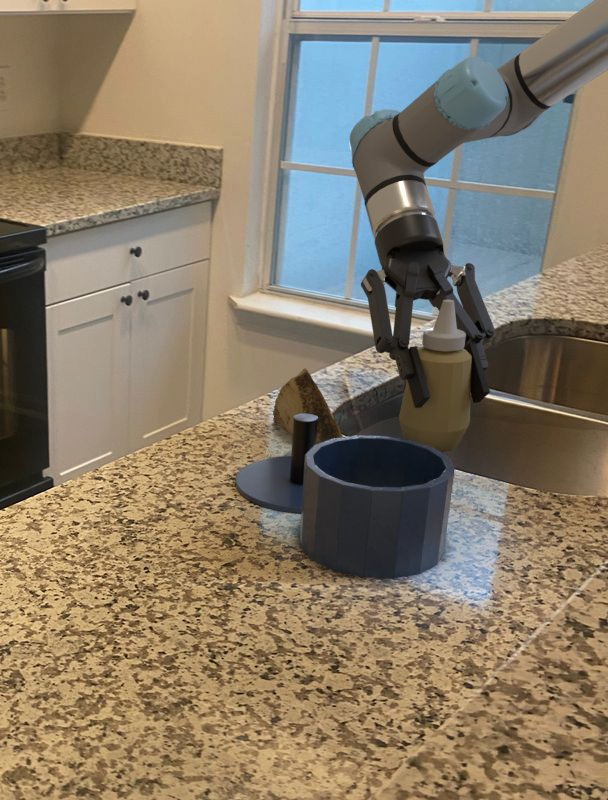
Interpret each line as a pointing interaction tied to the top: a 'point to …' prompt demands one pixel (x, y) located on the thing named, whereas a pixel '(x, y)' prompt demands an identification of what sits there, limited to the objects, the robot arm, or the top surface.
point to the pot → (375, 506)
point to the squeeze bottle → (441, 386)
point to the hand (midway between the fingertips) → (452, 399)
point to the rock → (304, 406)
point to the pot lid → (280, 471)
